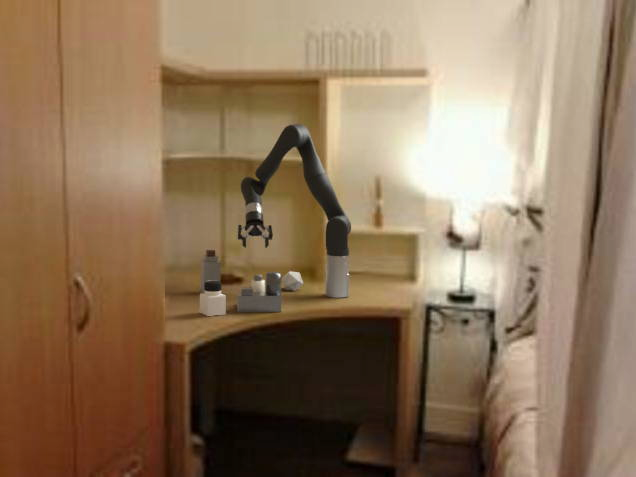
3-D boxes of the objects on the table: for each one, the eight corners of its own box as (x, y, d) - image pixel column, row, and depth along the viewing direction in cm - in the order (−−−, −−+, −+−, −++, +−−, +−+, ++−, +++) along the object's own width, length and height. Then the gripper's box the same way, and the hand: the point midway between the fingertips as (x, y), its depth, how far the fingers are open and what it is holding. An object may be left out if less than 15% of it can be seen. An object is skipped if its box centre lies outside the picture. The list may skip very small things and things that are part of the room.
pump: (263, 304, 252) (264, 273, 250) (264, 307, 247) (265, 276, 245) (250, 304, 251) (250, 273, 249) (251, 307, 246) (251, 276, 244)
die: (287, 293, 276) (301, 276, 275) (274, 281, 280) (288, 264, 280) (296, 297, 283) (310, 280, 282) (283, 285, 287) (297, 268, 287)
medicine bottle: (226, 314, 233) (226, 281, 232) (207, 317, 229) (208, 283, 228) (217, 310, 239) (217, 278, 238) (199, 312, 235) (199, 280, 234)
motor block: (277, 304, 253) (278, 268, 251) (281, 311, 240) (282, 274, 238) (236, 304, 250) (236, 268, 249) (237, 312, 238) (238, 274, 236)
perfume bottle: (200, 292, 271) (200, 249, 269) (216, 291, 274) (216, 249, 272) (203, 295, 265) (204, 251, 263) (220, 294, 267) (220, 251, 265)
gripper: (237, 209, 270) (238, 240, 260) (271, 210, 273) (274, 241, 263) (236, 221, 276) (237, 252, 266) (270, 221, 278) (272, 252, 268)
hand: (255, 246), depth 264 cm, fingers open, 8 cm apart
